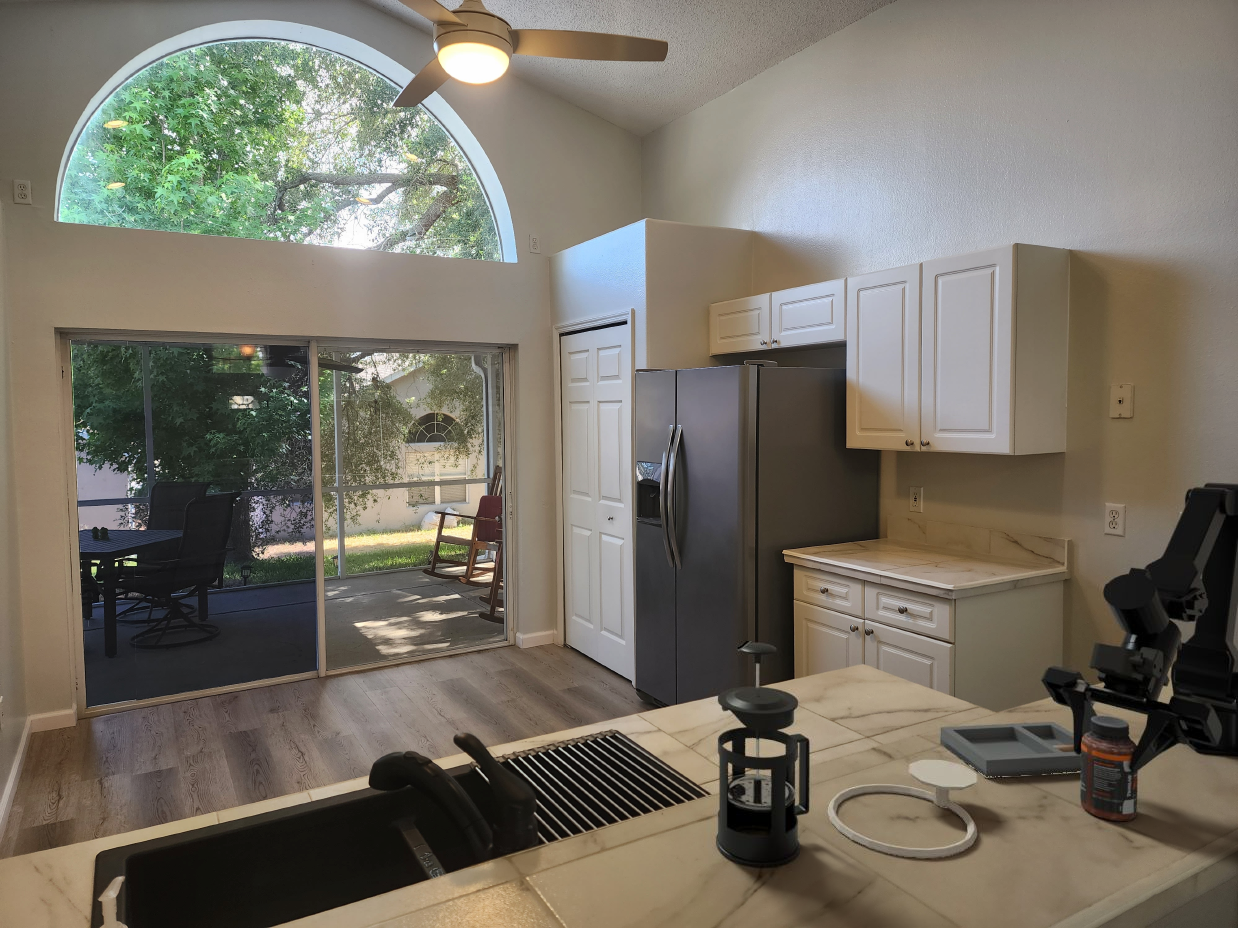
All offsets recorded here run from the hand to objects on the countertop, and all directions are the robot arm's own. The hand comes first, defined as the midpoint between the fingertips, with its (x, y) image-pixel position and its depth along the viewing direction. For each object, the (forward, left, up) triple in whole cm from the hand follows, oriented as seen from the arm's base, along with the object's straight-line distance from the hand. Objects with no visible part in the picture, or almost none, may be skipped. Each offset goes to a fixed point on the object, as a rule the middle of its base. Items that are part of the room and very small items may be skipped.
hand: (1103, 761), depth 96 cm
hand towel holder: (+23, +6, -7) cm, 25 cm away
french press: (+40, +16, -7) cm, 44 cm away
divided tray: (+5, -16, -7) cm, 18 cm away
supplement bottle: (-1, -1, -7) cm, 7 cm away
